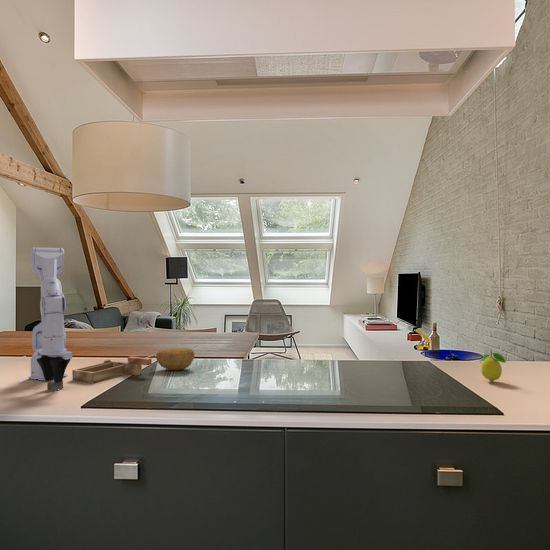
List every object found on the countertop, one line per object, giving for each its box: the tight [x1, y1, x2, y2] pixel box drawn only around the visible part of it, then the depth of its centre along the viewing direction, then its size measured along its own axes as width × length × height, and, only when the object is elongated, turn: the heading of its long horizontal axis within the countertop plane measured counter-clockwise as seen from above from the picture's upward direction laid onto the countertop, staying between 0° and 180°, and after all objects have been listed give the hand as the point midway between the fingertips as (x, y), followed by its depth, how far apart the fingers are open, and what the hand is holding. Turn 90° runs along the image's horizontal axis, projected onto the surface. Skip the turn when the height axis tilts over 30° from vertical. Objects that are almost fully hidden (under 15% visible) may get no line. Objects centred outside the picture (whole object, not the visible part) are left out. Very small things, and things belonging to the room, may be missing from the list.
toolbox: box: [71, 359, 143, 384], centre depth 139 cm, size 16×16×4 cm
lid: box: [46, 379, 64, 392], centre depth 124 cm, size 7×13×3 cm, turn 152°
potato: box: [155, 346, 196, 371], centre depth 148 cm, size 10×14×8 cm
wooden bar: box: [127, 356, 152, 366], centre depth 141 cm, size 9×2×2 cm, turn 64°
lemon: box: [479, 350, 507, 383], centre depth 126 cm, size 7×6×10 cm
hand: (53, 381), depth 124 cm, fingers open, 4 cm apart
